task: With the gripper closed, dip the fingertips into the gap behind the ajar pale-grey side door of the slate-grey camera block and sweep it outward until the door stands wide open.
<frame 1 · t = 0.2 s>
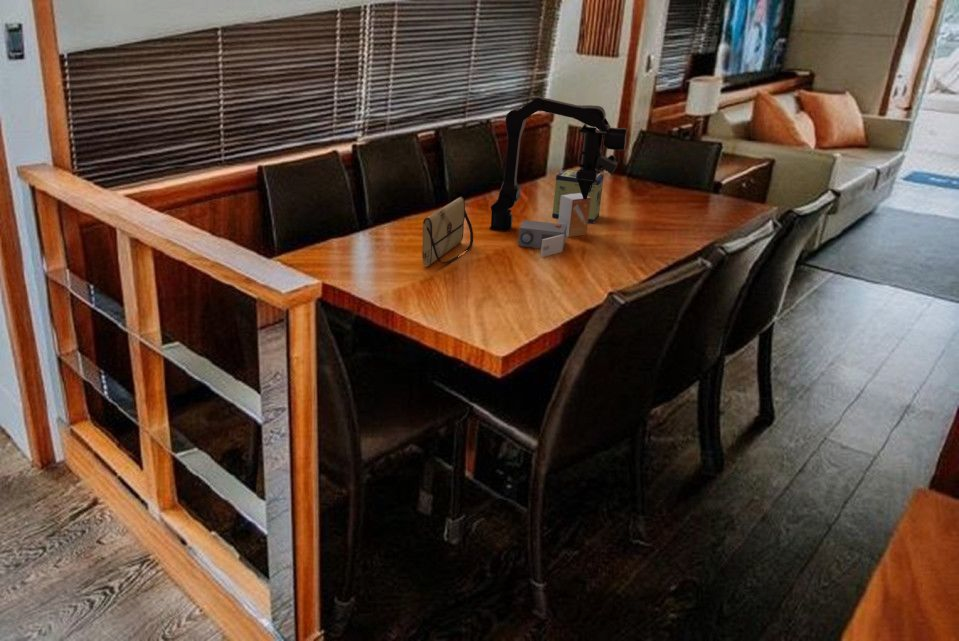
hand: (586, 195, 256), 14 cm above the table, tool pointing down, fingers open, 9 cm apart
protein box: (575, 217, 285), on the table
side door: (553, 245, 244), point 3 cm above the table, hinge at 55.0°
clutch purse: (450, 256, 240), on the table
camera block: (541, 244, 254), on the table
small box: (571, 234, 266), on the table
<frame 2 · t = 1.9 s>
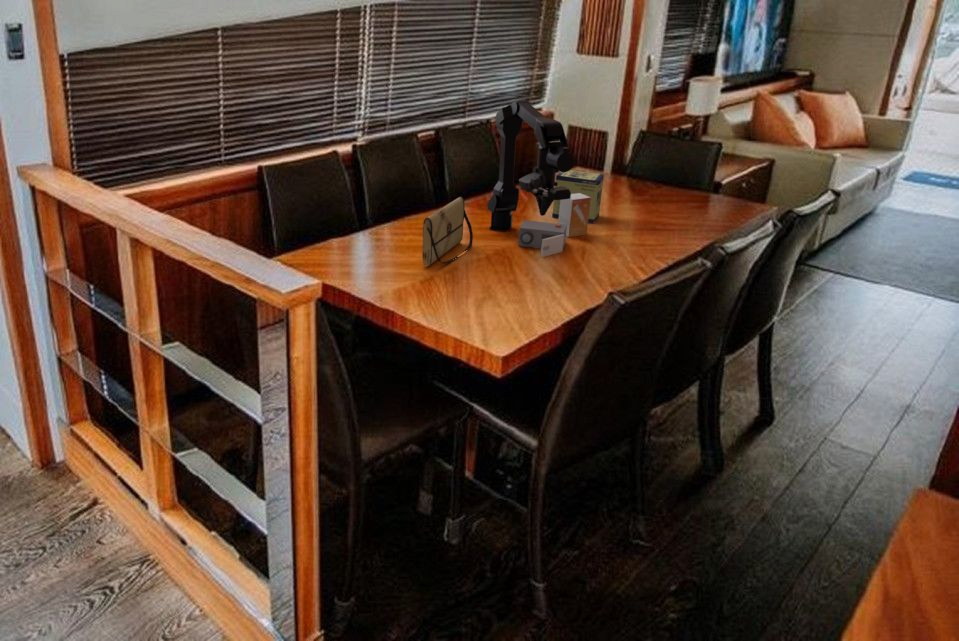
hand: (542, 215, 241), 12 cm above the table, tool pointing down, fingers closed
nothing on the table moved.
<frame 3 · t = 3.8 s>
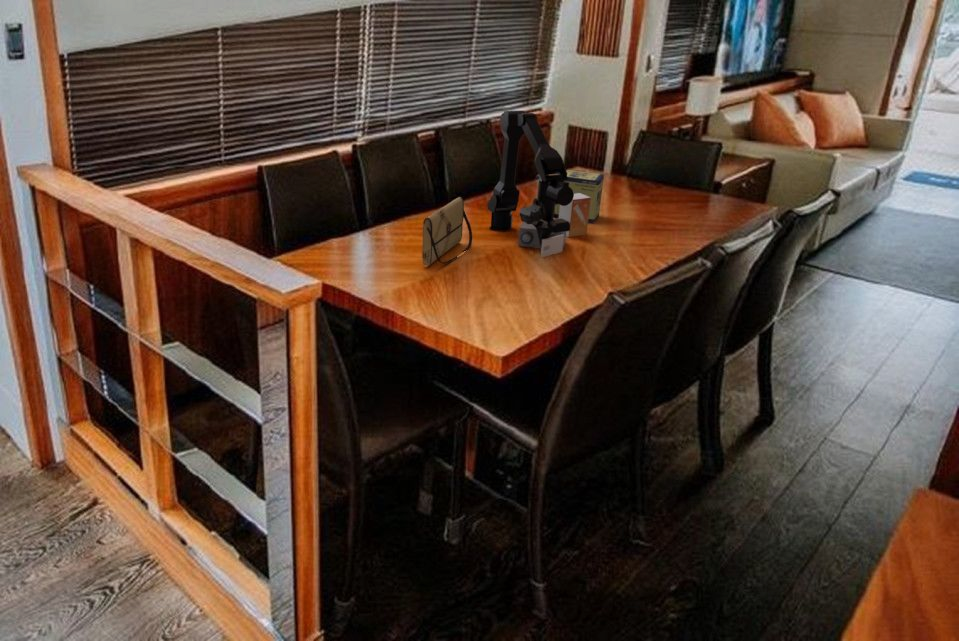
hand: (542, 245, 244), 3 cm above the table, tool pointing down, fingers closed
side door: (553, 245, 244), point 3 cm above the table, hinge at 55.4°, touching gripper
everything else where it was.
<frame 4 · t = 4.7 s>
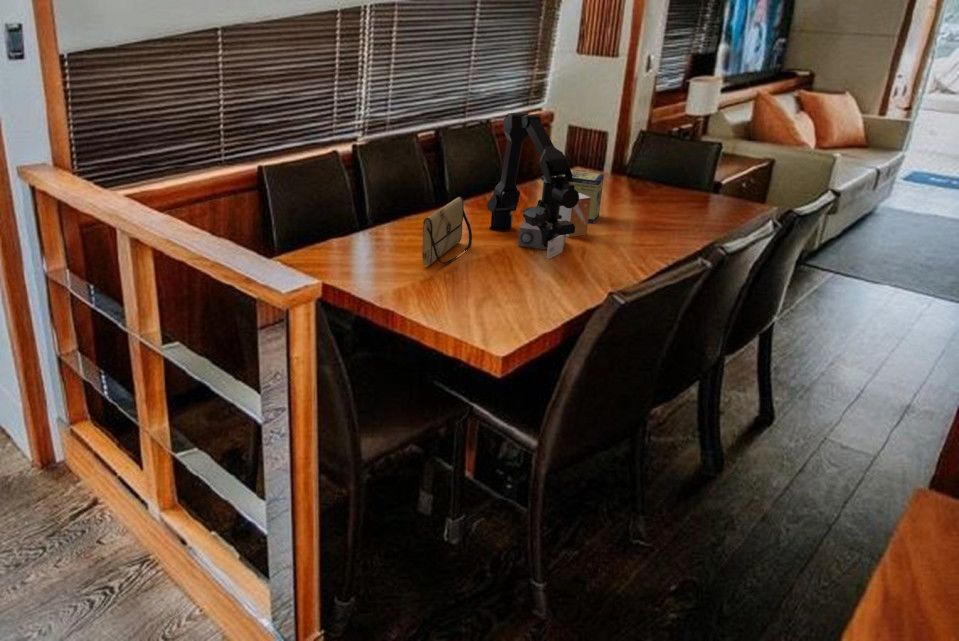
hand: (545, 246, 243), 3 cm above the table, tool pointing down, fingers closed
side door: (555, 246, 244), point 3 cm above the table, hinge at 69.7°, touching gripper
everything else where it was.
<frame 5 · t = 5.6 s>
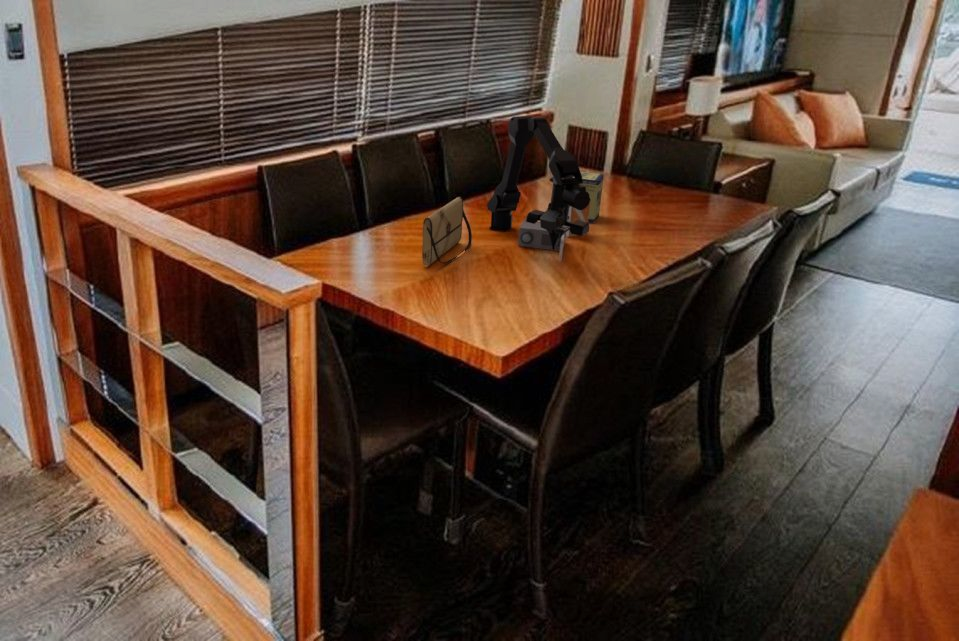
hand: (553, 249, 241), 3 cm above the table, tool pointing down, fingers closed
side door: (561, 247, 243), point 3 cm above the table, hinge at 94.5°, touching gripper
everything else where it was.
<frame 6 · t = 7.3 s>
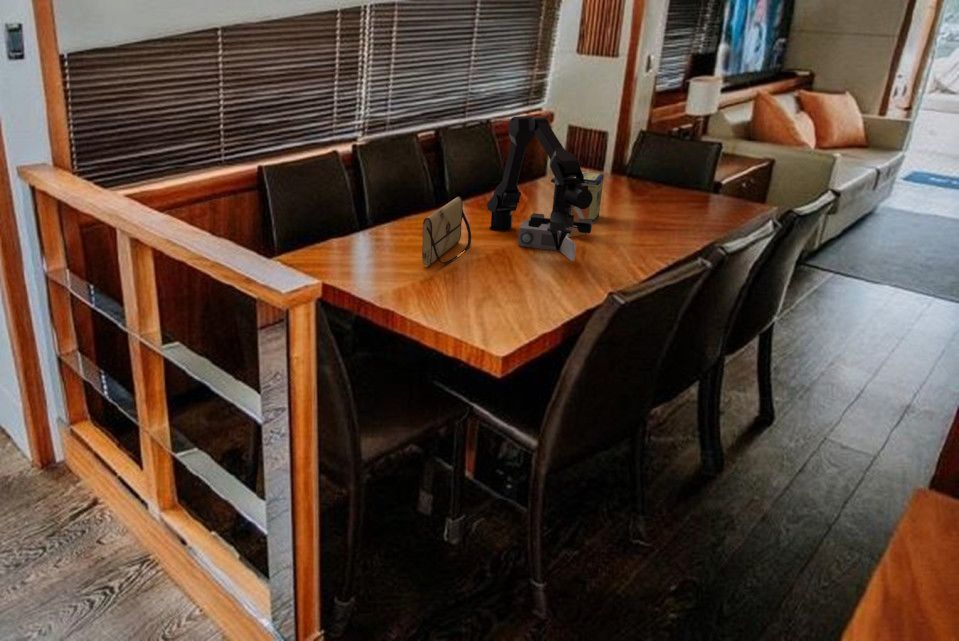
hand: (557, 250, 241), 3 cm above the table, tool pointing down, fingers closed
side door: (567, 247, 243), point 3 cm above the table, hinge at 120.4°
everything else where it was.
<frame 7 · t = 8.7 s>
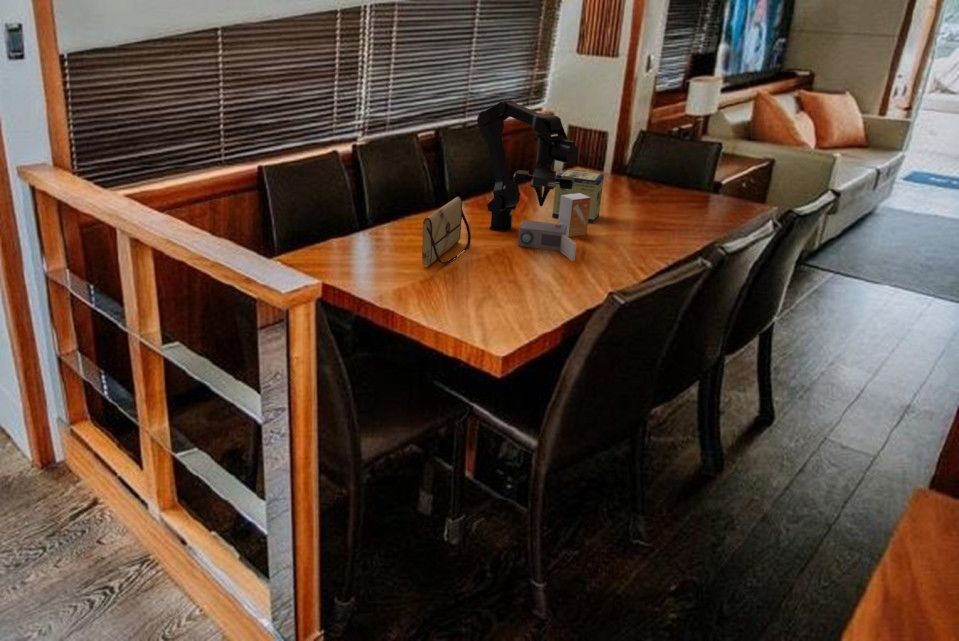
hand: (541, 205, 252), 12 cm above the table, tool pointing down, fingers closed
nothing on the table moved.
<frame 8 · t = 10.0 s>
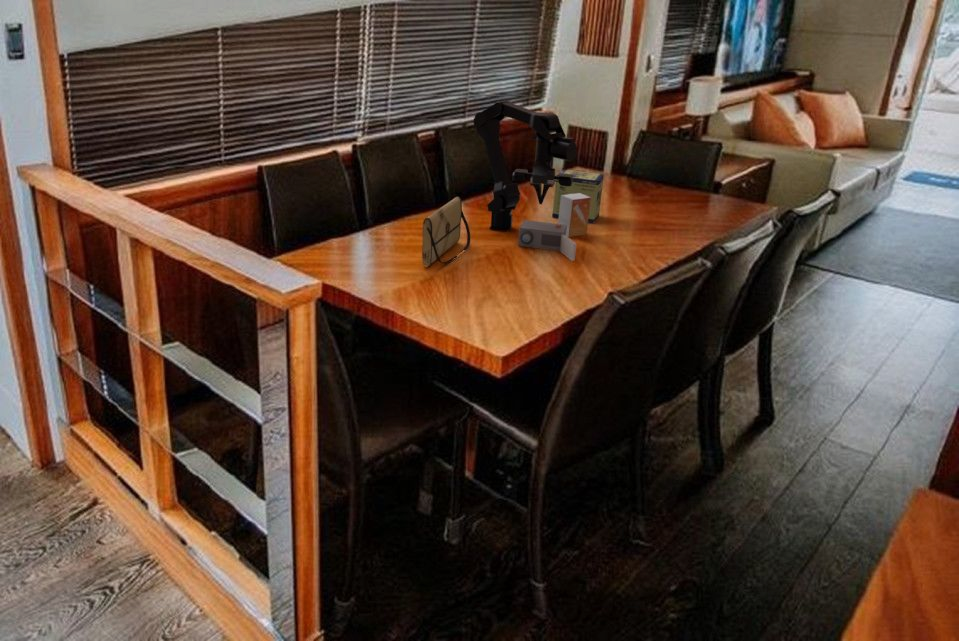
hand: (540, 204, 253), 12 cm above the table, tool pointing down, fingers closed
nothing on the table moved.
at the end: side door at +121° (first picture: +55°); side door touching nothing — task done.
